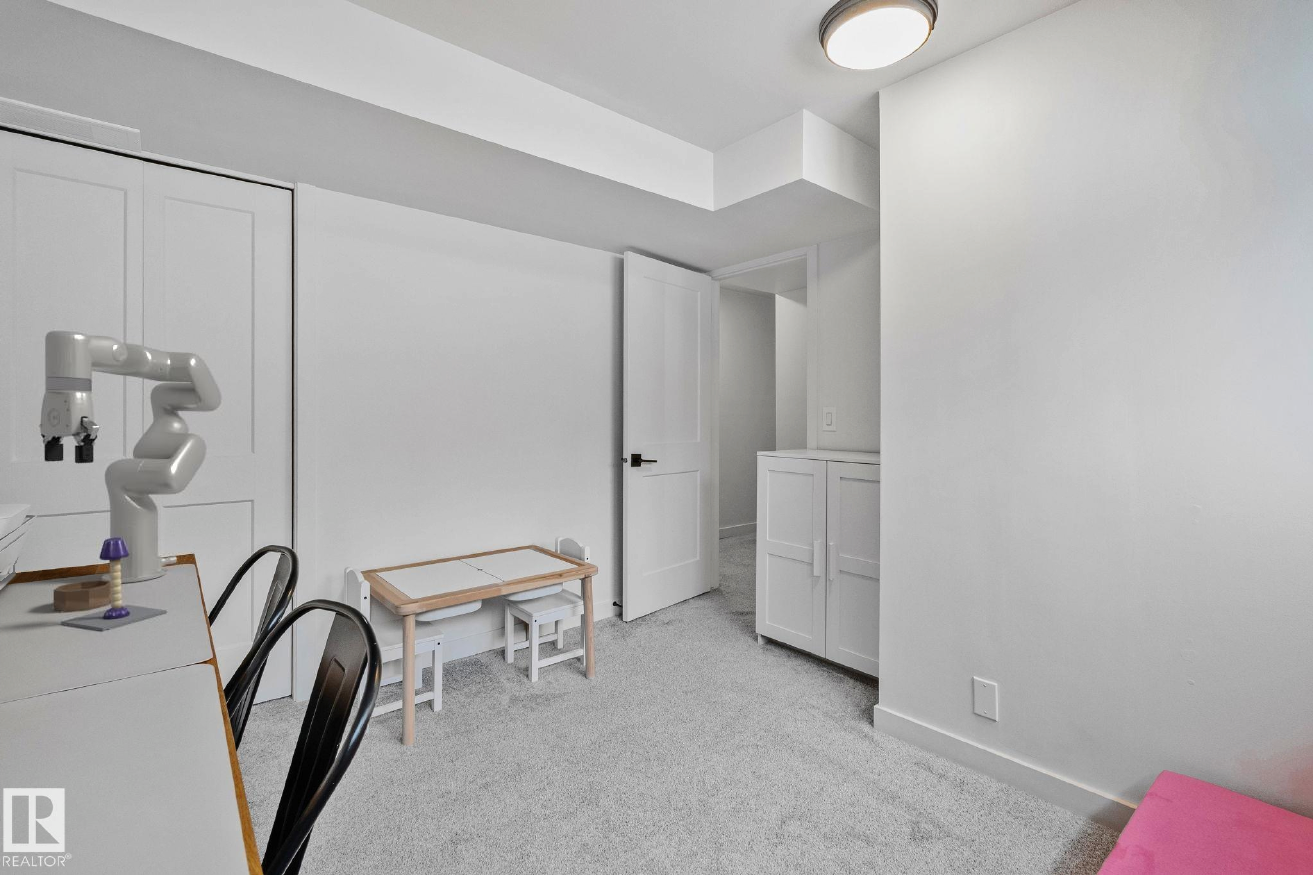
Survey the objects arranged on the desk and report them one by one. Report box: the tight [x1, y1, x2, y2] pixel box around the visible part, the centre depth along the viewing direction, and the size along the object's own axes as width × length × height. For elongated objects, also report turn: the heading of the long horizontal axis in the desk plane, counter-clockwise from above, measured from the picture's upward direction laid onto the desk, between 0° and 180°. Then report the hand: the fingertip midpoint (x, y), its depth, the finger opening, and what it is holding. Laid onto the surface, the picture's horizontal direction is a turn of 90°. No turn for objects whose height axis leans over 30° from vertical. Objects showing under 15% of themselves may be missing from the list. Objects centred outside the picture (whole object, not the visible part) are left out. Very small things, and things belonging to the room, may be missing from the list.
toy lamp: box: [99, 537, 130, 619], centre depth 126 cm, size 5×5×17 cm
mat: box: [60, 604, 168, 632], centre depth 127 cm, size 12×12×1 cm
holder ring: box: [53, 579, 112, 613], centre depth 135 cm, size 9×9×4 cm
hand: (69, 462), depth 135 cm, fingers open, 9 cm apart
